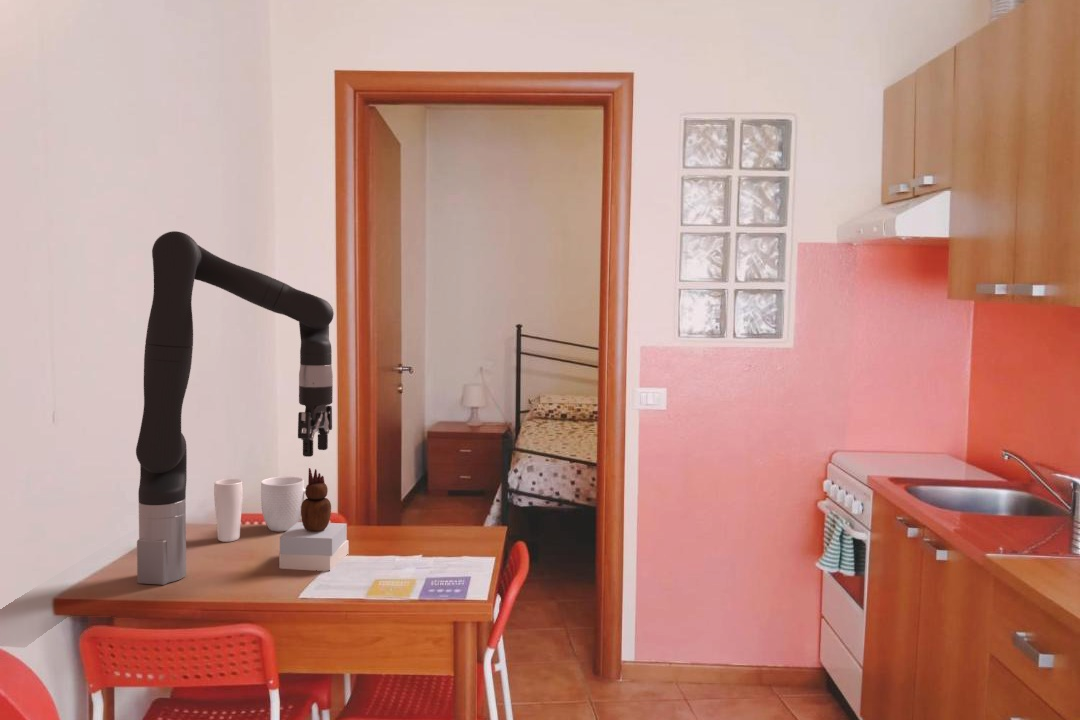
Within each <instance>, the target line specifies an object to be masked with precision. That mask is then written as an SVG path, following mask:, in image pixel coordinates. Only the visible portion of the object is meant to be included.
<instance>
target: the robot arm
mask: <svg viewBox="0 0 1080 720" xmlns="http://www.w3.org/2000/svg"><path fill="white" fill-rule="evenodd" d="M151 256H152V257H151V258H152V267H153V268H152V269H153V295H152V301H151V302H152V303H151V307H150V312H149V317H148V320H147V321H148V322H147V328H146V337H145V344H144V356H143V410H142V419H141V423H140V429H139V434H138V437H137V444H136V447H135V455H136V458H137V461H138V463H139V467H140V474H139V486H138V493H137V494H138V539H137V541H136V560H137V561H136V565H137V566H136V567H137V568H136V570H137V571H136V574H137V576H136V577H137V579H136V580H137V584H145V585H158V586H159V585H162V586H163V585H167V584H170V583H173V582H176V581H178V580H182V579H183V578H185V577H186V576H187V527H186V526H187V521H186V519H187V517H186V516H187V514H186V511H187V510H186V509H187V507H186V505H187V503H186V502H187V501H186V499H187V498H186V497H187V496H186V495H187V490H186V489H187V477H188V476H187V473H188V472H187V460H188V459H187V458H188V455H187V452H188V451H187V441H186V437H185V435H183V433H182V412H183V411H182V410H183V404H184V399H185V395H186V392H187V388H188V384H189V380H190V376H191V375H190V374H191V371H192V370H191V369H192V362H193V349H194V322H193V321H194V320H193V310H192V309H193V308H192V296H193V290H194V284H195V280H196V281H200V282H203V283H206V284H209V285H211V286H214V287H216V288H219V289H221V290H224V291H226V292H227V293H230V294H232V295H233V296H237V297H239V298H241V299H242V300H245V301H247V302H249V303H251V304H254V305H256V306H258V307H261V308H262V309H265V310H267V311H270V312H272V313H276V314H280V315H283V316H286V317H288V318H290V319H292V320H294V321H296V322H298V325H299V336H300V337H299V338H300V350H299V352H300V353H299V354H300V355H299V359H300V360H299V363H300V364H299V372H298V404H299V405H301V406H304V407H305V410H304V412H303V411H299V412H298V416H297V417H298V418H297V420H298V421H297V438H298V439H299V440H300V439H301V440H302V456H303V457H308V458H310V457H313V456H314V437H315V434H316V433H317V449H318V450H319V451H326V450H327V449H328V448H329V447H328V445H329V444H328V442H329V439H328V438H329V437H328V435H329V434H330V431H331V430H332V429H333V408H332V407H333V406H332V405H331V404H332V403H333V390H334V389H333V388H334V387H333V381H334V380H333V377H334V376H333V367H332V364H333V363H332V359H333V358H332V344H331V341H330V324H331V323H332V322H333V318H334V315H335V314H334V309H333V306H332V305H331V303H329V302H328V301H327V300H325V299H324V298H322V297H319V296H318V295H317V296H316V295H315V294H311V293H308V292H306V291H303V290H300V289H297V288H295V287H293V286H291V285H289V284H287V283H285V282H283V281H281V280H279V279H276V278H273V277H272V276H269V275H267V274H264V273H262V272H258V271H256V270H253V269H250V268H247V267H244V266H241V265H239V264H236V263H232V262H231V261H229V260H225V259H223V258H221V257H220V256H217V255H215V254H213V253H211V252H210V251H208V250H207V249H205V248H203V247H202V246H200V245H199V244H198V243H197V242H196V241H195V239H194V238H192V237H191V236H190V235H188V233H185V232H181V231H176V230H175V231H173V230H172V231H168V232H165V233H163V234H162V235H159V236H158V237H157V239H156V240H155V241H154V244H153V245H152V250H151Z"/></svg>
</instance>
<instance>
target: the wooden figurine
mask: <svg viewBox="0 0 1080 720" xmlns="http://www.w3.org/2000/svg"><path fill="white" fill-rule="evenodd" d="M307 482H308V483H307V485H306V487H305V489H306V490H305V492H306V494H305V496H306V498H304V501H303V502H302V505H301V518H302V521H301V522H302V523H303V526H304V528H305V529H306V530H308V531H321V530H324V529H325V528H326V527H327V526H328V524H329V523H330V519H331V516H332V515H331V514H332V504H331V501H330V500H329V498H327V495H328V492H329V490H328V489H329V488H328V485H327V484H326V483H325V478H324V475H321V473H320V472H318V470H317V468H315V469H314V473H312V469H311V467H308V481H307Z"/></svg>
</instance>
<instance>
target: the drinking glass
mask: <svg viewBox="0 0 1080 720" xmlns="http://www.w3.org/2000/svg"><path fill="white" fill-rule="evenodd" d="M213 484H214V486H213V492H214V493H213V498H214V501H213V502H214V509H215V520H216V528H217V529H216V530H217V540H218V541H220V542H222V543H229V542H235V541H238V540H239V539H240V537H241V521H242V509H243V500H244V499H243V497H244V489H243V488H244V487H243V486H244V483H243V480H242V479H239V478H224V479H219V480H216V481H215V482H214V483H213Z"/></svg>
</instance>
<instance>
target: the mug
mask: <svg viewBox="0 0 1080 720" xmlns="http://www.w3.org/2000/svg"><path fill="white" fill-rule="evenodd" d="M305 490H306V488H305V480H304V478H302V477H299V476H275V477H274V476H273V477H269V478H265V479H262V480H261V482H260V504H261V506H260V507H261V513H262V515H263V520H264V522H265V524H266V526H267V527H268V529H269V530H270V531H272V532H278V533H280V532H286V531H287V530H289V529H290V528H291V527H292V526H293V525H295V524H296V523H297V522H302V518H301V505H302V502H303V501H304V500H305V495H306V492H305Z"/></svg>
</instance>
